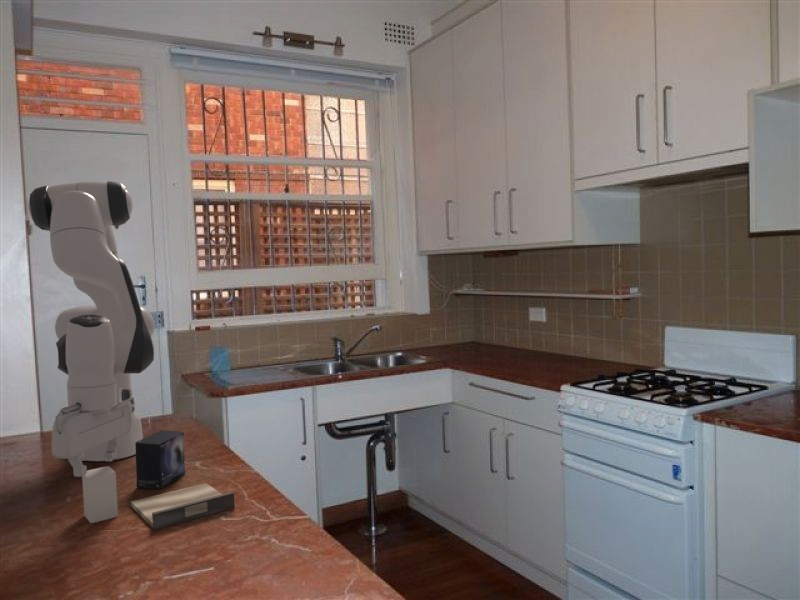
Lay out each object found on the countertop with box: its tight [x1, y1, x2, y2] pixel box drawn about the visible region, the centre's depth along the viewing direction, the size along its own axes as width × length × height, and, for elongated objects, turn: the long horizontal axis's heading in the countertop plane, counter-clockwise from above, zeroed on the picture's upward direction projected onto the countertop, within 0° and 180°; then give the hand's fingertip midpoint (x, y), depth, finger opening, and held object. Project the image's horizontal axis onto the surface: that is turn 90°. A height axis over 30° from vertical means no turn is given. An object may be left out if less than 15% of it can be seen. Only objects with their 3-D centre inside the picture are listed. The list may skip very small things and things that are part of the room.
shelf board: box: [130, 482, 235, 530], centre depth 131 cm, size 15×16×3 cm
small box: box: [135, 429, 186, 490], centre depth 146 cm, size 11×6×10 cm, turn 168°
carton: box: [81, 465, 119, 524], centre depth 127 cm, size 5×5×9 cm
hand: (96, 467), depth 126 cm, fingers open, 8 cm apart
